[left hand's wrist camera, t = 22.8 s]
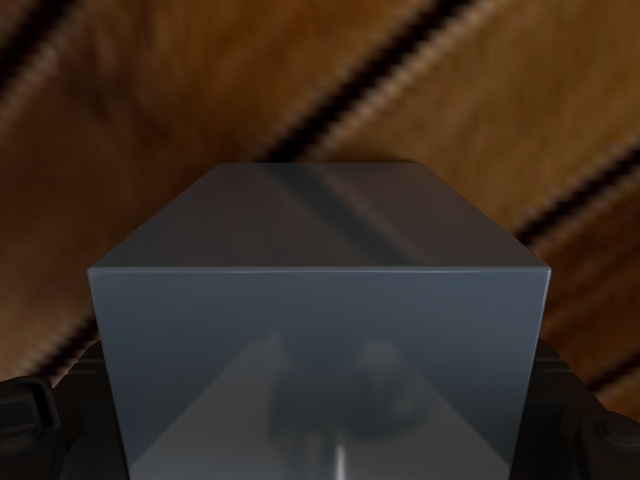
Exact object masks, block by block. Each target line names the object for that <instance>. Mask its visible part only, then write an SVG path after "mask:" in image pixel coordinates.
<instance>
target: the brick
mask: <svg viewBox="0 0 640 480" xmlns="http://www.w3.org/2000/svg"><path fill="white" fill-rule="evenodd" d="M550 276H551V267H550V266H549V265H548V264H547V263H545V262H544V261H543V260H542V259H540V258H539V257H538V256H537V255H535V254H534V253H533V252H532V251H530V250H529V249H528V248H527V247H525V246H524V245H523V244H522V243H520V242H519V241H518V240H517V239H515V238H514V237H513V236H512V235H511V234H509V233H508V232H507V231H506V230H504V229H503V228H502V227H501V226H499V225H498V224H497V223H496V222H494V221H493V220H492V219H491V218H489V217H488V216H487V215H486V214H484V213H483V212H482V211H481V210H479V209H478V208H477V207H476V206H474V205H473V204H472V203H471V202H469V201H468V200H467V199H466V198H464V197H463V196H462V195H461V194H459V193H458V192H457V191H456V190H454V189H453V188H452V187H451V186H449V185H448V184H447V183H446V182H444V181H443V180H442V179H441V178H439V177H438V176H437V175H436V174H435V173H433V172H432V171H431V170H430V169H428V168H427V167H426V166H425V165H423V164H422V163H420V162H317V163H218V164H217V165H216V166H214V167H213V168H212V169H211V170H209V171H208V172H207V173H206V174H204V175H203V176H202V177H201V178H199V179H198V180H197V181H196V182H194V183H193V184H192V185H191V186H189V187H188V188H187V189H186V190H184V191H183V192H182V193H180V194H179V195H178V196H177V197H175V198H174V199H173V200H172V201H170V202H169V203H168V204H167V205H165V206H164V207H163V208H162V209H160V210H159V211H158V212H157V213H155V214H154V215H153V216H152V217H150V218H149V219H148V220H147V221H145V222H144V223H143V224H142V225H140V226H139V227H138V228H137V229H135V230H134V231H133V232H132V233H130V234H129V235H128V236H127V237H125V238H124V239H123V240H121V241H120V242H119V243H118V244H116V245H115V246H114V247H113V248H111V249H110V250H109V251H108V252H106V253H105V254H104V255H103V256H101V257H100V258H99V259H98V260H96V261H95V262H94V263H93V264H91V265H90V266H89V267H88V268H87V277H88V282H89V287H90V292H91V296H92V301H93V306H94V311H95V315H96V320H97V325H98V330H99V334H100V339H101V344H102V349H103V353H104V358H105V363H106V368H107V372H108V377H109V382H110V387H111V391H112V396H113V401H114V406H115V410H116V415H117V420H118V425H119V430H120V434H121V439H122V444H123V449H124V453H125V458H126V463H127V468H128V472H129V477H130V480H509V479H510V474H511V469H512V464H513V460H514V455H515V450H516V445H517V440H518V435H519V430H520V425H521V420H522V415H523V410H524V405H525V400H526V395H527V390H528V385H529V380H530V375H531V370H532V365H533V361H534V356H535V351H536V346H537V341H538V336H539V331H540V326H541V321H542V316H543V311H544V306H545V301H546V296H547V291H548V286H549V281H550Z"/></svg>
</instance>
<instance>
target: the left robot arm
mask: <svg viewBox="0 0 640 480" xmlns="http://www.w3.org/2000/svg"><path fill="white" fill-rule="evenodd" d="M0 480H130V477H129V472H128V468H127V463H126V458H125V453H124V449H123V444H122V439H121V434H120V430H119V425H118V420H117V415H116V410H115V406H114V401H113V396H112V391H111V387H110V382H109V377H108V372H107V368H106V363H105V358H104V353H103V349H102V344H101V340H99V341H98V342H96V343H95V344H93V345H92V346H90V347H89V348H88V349H87V350H86V352H85V353H84V354H83V355H82V356H81V357H80V358H79V360H78V363H75V364H74V365H73V367H72V368H71V369H70V370H69V371H68V374H66V375H65V376H64V377H63V378H62V379H61V380H60V382H59V383H58V384H57V385H56V386H55V387H54V388H52V384H51V382H50V381H49V380H47V379H46V378H45V377H40V376H34V375H31V376H21V377H16V378H12V379H9V380H5V381H2V382H0ZM509 480H640V423H639V422H637V421H635V420H633V419H631V418H630V417H627V416H624V415H621V414H618V413H615V412H612V411H607V410H606V409H605V407H604V406H603V405H602V404H601V403H600V402H599V400H598V399H597V398H596V397H595V396H594V395H593V394H592V392H591V391H590V390H589V389H588V388H587V387H586V386H585V384H584V383H583V382H582V381H581V380H580V379H579V378H578V376H577V375H576V374H575V373H572V370H571V368H570V367H569V366H568V365H567V364H566V363H565V361H562V358H561V357H560V356H559V355H558V353H557V352H556V351H555V350H554V349H553V348H552V347H551V345H549V344H548V343H546V342H544V341H543V340H541V339H540V338H538V341H537V346H536V351H535V356H534V361H533V365H532V370H531V375H530V380H529V385H528V390H527V395H526V400H525V405H524V410H523V415H522V420H521V425H520V430H519V435H518V440H517V445H516V450H515V455H514V460H513V464H512V469H511V474H510V479H509Z"/></svg>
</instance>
